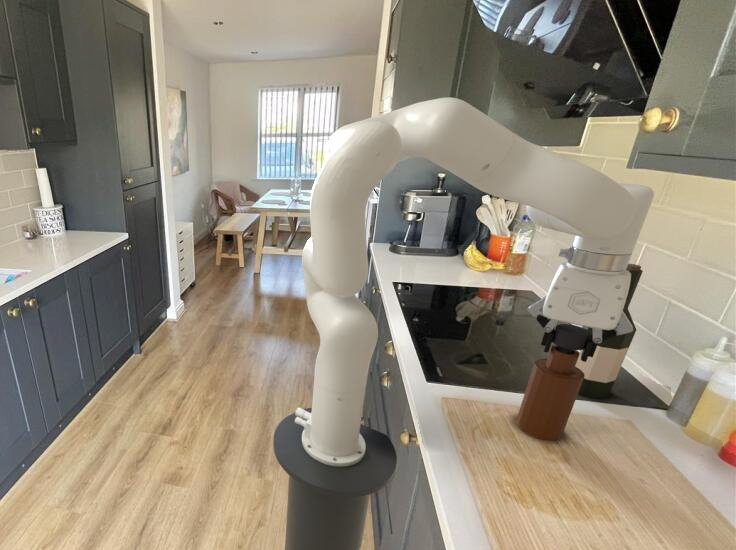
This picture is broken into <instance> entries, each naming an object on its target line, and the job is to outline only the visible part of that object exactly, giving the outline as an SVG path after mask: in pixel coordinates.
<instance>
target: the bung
mask: <svg viewBox="0 0 736 550" xmlns="http://www.w3.org/2000/svg"><path fill="white" fill-rule="evenodd" d="M554 330H555V332H554V337H553V340H552V344H554V345H557V346H560V347H559V350H558V351H560V352H562V353H566V354H572V352H573V350H583V349H585V346H586V344H587V341H588V339H589V336H590V332H589V331H588V330H586V329H584V328H582V326H580V325H576V324H570V323H558V324H557V325H556V326H555V328H554Z"/></svg>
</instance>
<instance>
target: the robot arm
mask: <svg viewBox="0 0 736 550" xmlns="http://www.w3.org/2000/svg"><path fill="white" fill-rule="evenodd" d="M324 157H325V163H324V165H323V166H322V167H321V169H320V171H319V172H318V175H317V177H316V179H315V181H314V183H313V186H312V189H311V193H310V200H309V220H310V221H309V222H310V236H311V237H310V238H309V239H308V240H307V242H306V243H305V245H304V247H303V249H302V255H301V267H302V268H301V269H302V275H303V281H304V282H303V284H304V291H305V298H306V305H307V310H308V314H309V316H310V319H311V321H312V322H313V324H314V326H315V328H316V330H317V332H318V335H319V340H320V341H319V342H320V343H319V348H318V352H317V355H316V359H315V365H314V374H313V375H314V376H313V377H314V378H313V389H312V403H311V408H312V412H311V413H309V412H307V411H306V410H303V409H304V408H301V407H297V408H296V410H295V411H294V412H295V415H296V416H297V417H296V418H295V423H297V424H299V425H302V426H304V431H303V433H302V445H303V447H304V449H305V450H306V452H307V453H308V454H309V455H310V456H311V457H313V458H314V459H315V460H317V461H319V462H321V463H324V464H326V465H330V466H337V467H345V466H350V465H354V464H356V463H358V462H359V461H361V459H362V458H363V457H364V455H365V450H366V443H365V440H364V438H363V437H362V435H361V434H360V426H361V424H362V421H361V419H362V417H363V411H364V406H365V405H364V403H365V397H366V389H367V382H368V375H369V370H370V365H371V362H372V361H371V360H372V357H373V354H374V352H375V349H376V346H377V343H378V340H379V339H378V338H379V327H378V323H377V320H376V318H375V316H374V314H373V313H372V311H371V310H370V309H369V307H367V306H366V305H365V303H364V302H363V301H362V300H361V299H360V298H358V297H357V294H358V293H359V292H361V291H362V289H364V287H365V285H366V283H367V281H368V277H369V258H368V247H367V245H368V244H367V231H366V210H367V204H368V201H369V198H370V197H371V194H372V193H373V191H374V190H375V188H376V187H377V186H378V185H379V183H381V181H382V180H384V178H386V177H387V176H388V175H389V174H390V173H391V172H392V171H393V170H394V168H395V167H396V166H397V164H398V163H400V162H403V161H406V160H408V159H413V158H417V159H418V158H419V159H426V160H428V161H431V162H432V163H434V164H435V165H437V166H439V167H441V168H442V169H444V170H446V171H448V172H449V173H451V174H453V175H455V176H456V177H458V178H460V179H461V180H463V181H465V182H466V183H468V184H469V185H471V186H473V187H474V188H476V189H478V190H479V191H481V192H484V193H485V194H488V195H491V196H494V197H495V198H499V199H502V200H506V201H510V202H513V203H514V202H515V203H517V204H521V205H525V206H526V207H525V210H526V215H527V217H528V218H529V220H530V221H531V222H532V223H534V224H535V225H537V226H539V227H541V228H544V229H548V230H552V231H556V232H559V233H565V234H569V235H573V236H575V237H574V240H573V243H572V245H571V247H569V248H566V249H565V248H560V250H559V253H558V257H562V258H564V259H565V260H567V261H564V262H562V263H561V264H560V265H559V267H558V268H557V271H556V272H555V274H554V276H553V279H552V281H551V284H550V286H549V288H548V290H547V293H546V295H545V296H544V297H542V298H540V299H539V300H537V301H535V302H533V303H532V304H530V305H529V306H527V309H526V311H527V313H529V314H530V315H531V316H532V317H533V318H534V319H535V320H536V321H537V323H538V324H539V325H540V326H541V327H542V329H543V331H544V333H543V336H542V338H541V342H540V346H543V347H544V348H543V353H550V352H549V351H550V350H551V347H552V346H551V345H552V344H553V342H552V340H553V337H554V332H555V329H556V326H557V325H558V324H559V322H561V323H565V324H570V325H575V326H579V327H582V326H585V327H590V328H592V334H591V335H590V336H589V339H588V341H587V344H586V346H585V349H583V351H582V354H581V360H582V361H583V362H586V361H587V358H588V356H589V357H593V356H594V353H595V350H596V348H597V345H598V343H601V342H602V341H604V340H606V339H609V338H612V337H615V336H616V335H622V334H626V333H630V332H632V331H633V326H632V325H631V323H630V322H629V320H628V318H627V317H626V315H625V314H624V312H623V308H624V305H625V302H626V298H627V295H628V291H629V287H630V281H631V273H630V272H629V271H627V270H626V268H627V266H628V264H630V260H631V257H632V255H633V252H634V250H635V247H636V245H637V242H638V239H639V236H640V234H641V231H642V230H643V229H642V228H643V226H644V223H645V220H646V219H647V217H648V216H647V215H648V213H649V210H650V208H651V205H652V203H653V199H654V197H655V193H654V190H653V188H652V187H651V186H648V185H644V184H635V183H619V182H617V181H615V180H613V179H612V178H611V177H609V176H607V175H606V174H604V173H603V172H601V171H599V170H598V169H595V168H594V167H592V166H589V165H587V164H585V163H582V162H580V161H578V160H575V159H573V158H571V157H567V156H564V155H562V154H561V153H557V152H556V151H553V150H551V149H549V148H547V147H543V146H542V145H539V144H535V143H533V142H530V141H528V140H527V139H525V138H523V137H521V136H519V134H516V133H515V132H514V131H512V130H510V129H509V128H508V127H505V126H504V125H503V124H502V123H500V122H498V121H497V120H494V119H493V118H492V117H490V116H489V115H487V114H486V113H484V112H482V111H481V110H479V109H478V108H477V107H475V106H473V105H472V104H470V103H468V102H466V101H465V100H462V99H461V98H457V97H453V96H451V97H439V98H434V99H430V100H429V99H428V100H425V101H419V102H416V103H412V104H409V105H407V106H404V107H401V108H398V109H395V110H392V111H388V112H386V113H382V114H379V115H375V116H371V117H369V118H365V119H362V120H359V121H354V122H352V123H349V124H348V123H347V124H345V125H343V126H341V127H339V128H338V129H337V130H335V131H334V132H333V133H332V134H331V136H330V137H329V139H328V141H327V143H326V145H325V152H324ZM541 309H542V311H541ZM618 323H619V325H618V326H617V324H618ZM301 418H302V419H301ZM303 419H305V420H307V421H305V420H303Z"/></svg>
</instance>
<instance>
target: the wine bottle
mask: <svg viewBox="0 0 736 550" xmlns="http://www.w3.org/2000/svg"><path fill="white" fill-rule="evenodd" d="M641 268H642V266H641V265H640V264H635V263H628V266H627V268H626V270H627V271H629V272H630V273H631V281H630V287H629V291H628V295H627V298H626V302H625V305H624V308H623V312H624V314H625V315H626V317H627V318H628V320H629V322H630V323H631V325H632V326H633V331H632V332H630V333H626V334H622V335H616V336H615V337H612V338H609V339H606V340H604V341H602V342H601V343H598V345H597V348H596V350H595V353H594V356H593V357H589V356H588V358H587V361H586V362H583V361H582V360H581V354H582V351H583V350H577V351H578V352H579V357H578V360H577V363H576V365H575V367H577V368H579V369H580V370H581V371H582V372H583V373H584V379H583V382H582V385H581V387H580V390H579V392H578V395H580V396H583V397H589V398H594V399H602V398H606V397H609V396H610V393H611V392H612V389H613V386H614V384H615V382H616V380H617V377H618V375H619V373H620V370H621V368H622V365H623V363H624V361H625V358H626V356H627V353H628V351H629V349H630V346H631V344H632V342H633V339H634V337H635V334H636V332H637V328H636V325H635V323H634V320H633V318H632V316H631V313H630V311H629V306H630V304H631V301H632V299H633V296H634V295H635V292H636V290H637V287H638V285H639V282H640V280H641V277H642V275H643V272H644V270H642V269H641ZM618 325H619V323H618V324H617V326H618ZM581 327H582V328H584V329H586V330H588V331H589V332H590V335H591V334H592V328H590V327H585V326H581Z"/></svg>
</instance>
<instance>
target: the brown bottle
mask: <svg viewBox="0 0 736 550" xmlns="http://www.w3.org/2000/svg"><path fill="white" fill-rule="evenodd" d="M559 347H560V346H557V345H556V344H554V345H552V346H551V347H550V350H549V351H550V352H549V353H548V357H547V358H539V359H535V361H534V364H533V366H532V370H531V373H530V376H529V379H528V382H527V385H526V388H525V391H524V394H523V398H522V401H521V405H520V406H519V410H518V413H517V416H516V420H515V423H516V425H517V427H518V428H519V429H520V430H522V431H523V432H524V433H526V434H528V435H529V436H531V437H534V438H536V439H540V440H544V441H558V440H559V439H561V438H562V436H563V434H564V431H565V429H566V426H567V423H568V421H569V418H570V416H571V413H572V412H573V411H572V410H573V409H574V405H575V403H576V401H577V398H578V395H579V394H578V392H579V390H580V387H581V385H582V382H583V379H584V373H583V372H582V371H581V370H580V369H579V368H577V367H575V365H576V363H577V360H578V357H579V352H578V351H577V350H573V352H572V354H566V353H562V352H560V351H558V350H559Z"/></svg>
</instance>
